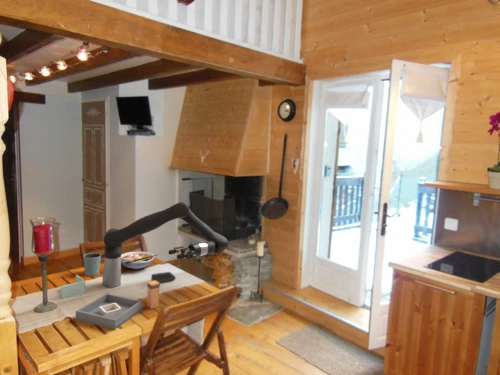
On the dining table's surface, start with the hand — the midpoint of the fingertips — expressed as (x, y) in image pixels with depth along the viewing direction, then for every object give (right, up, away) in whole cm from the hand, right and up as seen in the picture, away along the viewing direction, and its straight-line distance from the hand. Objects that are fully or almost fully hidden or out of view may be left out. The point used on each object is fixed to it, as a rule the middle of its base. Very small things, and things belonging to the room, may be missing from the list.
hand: (173, 254), depth 196 cm
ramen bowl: (-35, -18, +49) cm, 63 cm away
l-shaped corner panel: (-59, -23, +7) cm, 63 cm away
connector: (-10, -26, -4) cm, 28 cm away
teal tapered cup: (-58, -18, +34) cm, 70 cm away
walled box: (-28, -27, -15) cm, 41 cm away
